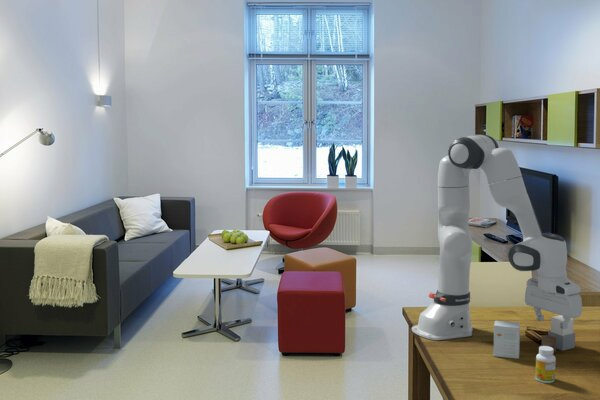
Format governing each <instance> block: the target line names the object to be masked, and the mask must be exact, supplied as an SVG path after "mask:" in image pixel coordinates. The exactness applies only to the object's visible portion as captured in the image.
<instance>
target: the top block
mask: <svg viewBox="0 0 600 400" xmlns="http://www.w3.org/2000/svg"><path fill="white" fill-rule="evenodd" d="M574 320H575V318H574V319H572V318H571V319H570V321H569V322H568V328H567V329H563V328H560V323H562V322H563V321H564V319H563V316H562V315H559V314H558V315H555V316H551V317H550V331H551V332H554V333H556V334H559V335H562V336H564V335H568V334H572V333H574V323H575V322H574Z"/></svg>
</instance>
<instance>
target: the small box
mask: <svg viewBox="0 0 600 400" xmlns="http://www.w3.org/2000/svg"><path fill="white" fill-rule="evenodd" d="M520 326H521V324H520V322H519V321H518V322H517V321H505V320H504V321H503V320H494V324H493V357H498V358H506V359H507V358H508V359H518V360H519V359H520V345H521V344H520V342H521V341H520V340H521V339H520V336H521V333H520V332H521V330H520V329H521V327H520Z"/></svg>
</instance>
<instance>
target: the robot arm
mask: <svg viewBox="0 0 600 400" xmlns="http://www.w3.org/2000/svg"><path fill="white" fill-rule="evenodd" d="M447 154H448V155H446V156H444V157H442V158H441V159H440V161H439V165H438V169H437V240H438V242H439V260H438V272H437V275H438V276H437V277H438V278H437V290H436V293H433V292H429V293H428V298H429V299H432V300H433V301H432V302H431V303H430V304H429V305H428V307H426V308H425V309H424V310H423V311H422V312H421V313H420V314H419V317H418V323H417V324H416V325H413V326H412V327H411V331H412V333H414V334H416V335H417V336H420V337H421V338H424V339H428V340H430V341H441V340H451V339H459V338H468V337H471V336H473V331H474V329H473V325H472V321H471V311H470V303H471V292H470V273H471V272H470V271H471V265H472V264H471V262H472V253H473V238H472V235H471V234H470V231H469V230H470V229H469V223H470V222H469V219H470V208H471V206H470V205H471V203H470V198H471V197H470V195H471V194H470V172H471V171H472V170H478V169H481V170H482V171H483V172H484V174H485V176H486V179H487V184H488V188H489V191H490V194H491V196H492V199H493V200H494V202H495V203H496V204H497V205H499V206H501V207H502V208H504V209H505V208H506V209H507V210H509V211H511V212H512V213H513V215H514V216H515V218H516V220H517V223H518V227H519V229H520V231H521V232H520V233H522V238H523V239H522V241H521V242H518V243H516V244H514V245H513V246H511V247H510V249H509V250H508V255H507V256H508V257H507V258H508V262H509V264H510V265H511V267H512V268H513V269H515V270H516V271H520V272H533V271H536V272H537V279H536V278H533V277H530V278H528V279H527V281H526V287H525V292H524V303H525V304H526V306H530V307H533V311H534V313H535V315H536V321H539V322H543V321H544V320H545V318H544V317H545V315H543V313H542V311H546V312H549V313H553V314H556V315H558V316H559V315H562V316H563V319H564V321H563V322H562V323H560V328H563V329H567V328H568V322H569V321H570V319H571V318H572V319H574V320H575V319H577V318H580V317H581V316H582V314H583V313H582V312H583V301H582V297H581V295H580V294H579V293H581V292H582V288H581V286H580V285H579V284H577V283H576V282H573V281H572V280H571V279H570V278H568V273H567V272H568V271H567V264H568V249H567V243H566V240H565V238H564V237H563V236H561V235H559V234H556V233H553V232H543V231H542V228H541V225H540V222H539V219H538V217H537V214H536V211H535V209H534V206H533V204H532V202H531V199H530V197H529V196H530V195H529V194H528V192H527V188H526V185H525V181H524V178H523V175H522V172H521V169H520V166H519V164H518V161H517V159H516V157H515V154H514V153H513V152H512V150H510V149H509V148H506V147H499V144H498V142H497V140H496V139H495V138H494V137H492V136H490V135H487V134H472V135H471V134H470V135H468V136H461V137H459V138H457V139H455V140H454V141H453V142H452V143H451V144H450V146H449V147H448V152H447ZM541 310H542V311H541Z"/></svg>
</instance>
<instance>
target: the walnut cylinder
mask: <svg viewBox="0 0 600 400" xmlns="http://www.w3.org/2000/svg"><path fill="white" fill-rule="evenodd" d="M540 346H549V347H552V348H553V349H554V353H553V355H556V353H557V348H556V337H554V336H551V335H548V334H543V335H542V336H541V345H540Z"/></svg>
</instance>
